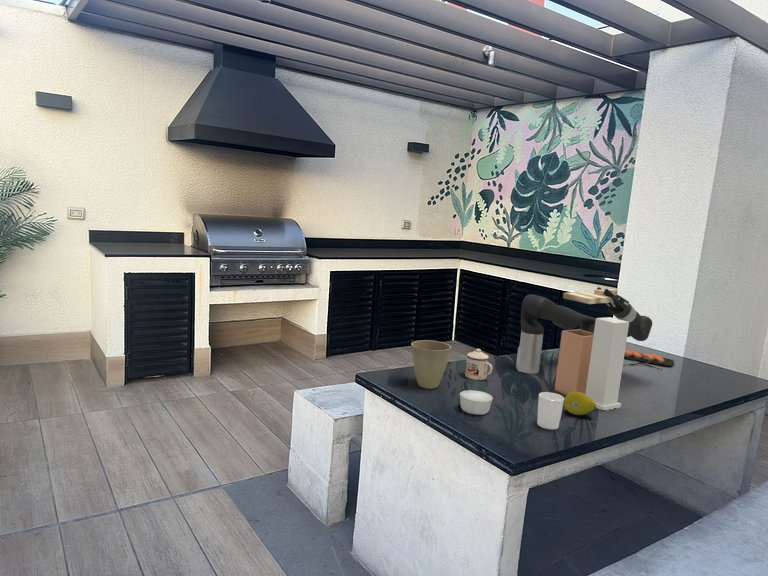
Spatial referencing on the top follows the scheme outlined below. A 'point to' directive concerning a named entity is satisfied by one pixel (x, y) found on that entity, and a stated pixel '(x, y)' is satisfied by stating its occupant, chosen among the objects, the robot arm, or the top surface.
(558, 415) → the white cup
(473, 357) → the teacup with lid
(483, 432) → the top surface
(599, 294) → the tan t-shaped block
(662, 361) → the sushi plate
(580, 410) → the lemon
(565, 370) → the tall open box
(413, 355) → the plant pot
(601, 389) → the pedestal
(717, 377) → the top surface
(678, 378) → the top surface
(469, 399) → the ramekin
